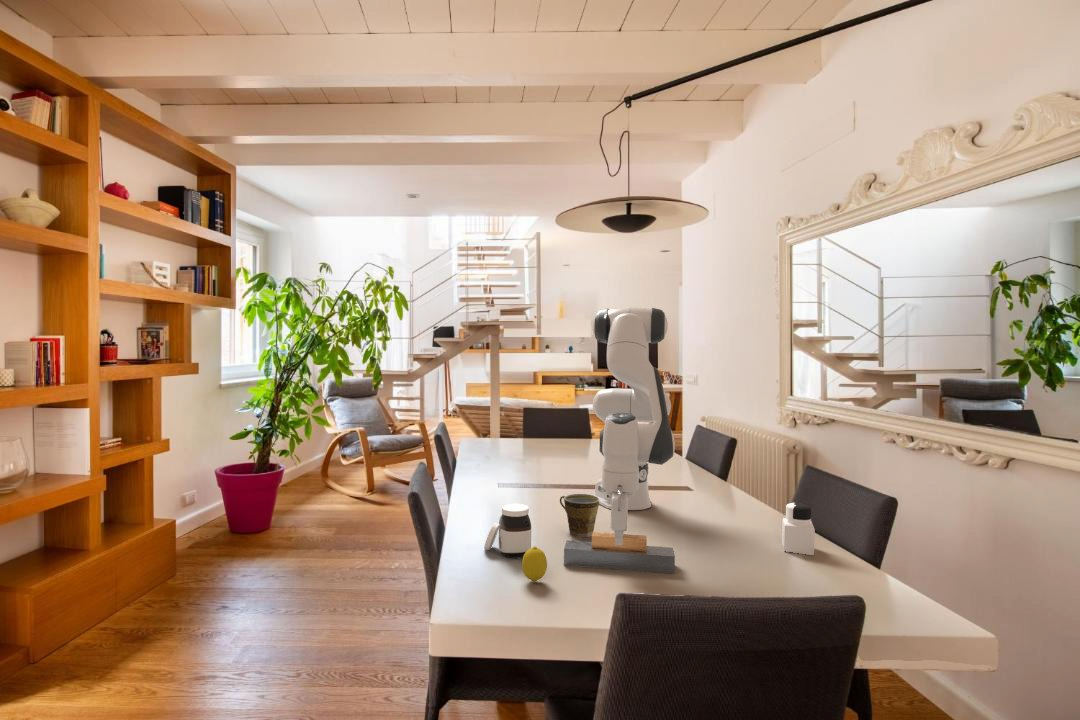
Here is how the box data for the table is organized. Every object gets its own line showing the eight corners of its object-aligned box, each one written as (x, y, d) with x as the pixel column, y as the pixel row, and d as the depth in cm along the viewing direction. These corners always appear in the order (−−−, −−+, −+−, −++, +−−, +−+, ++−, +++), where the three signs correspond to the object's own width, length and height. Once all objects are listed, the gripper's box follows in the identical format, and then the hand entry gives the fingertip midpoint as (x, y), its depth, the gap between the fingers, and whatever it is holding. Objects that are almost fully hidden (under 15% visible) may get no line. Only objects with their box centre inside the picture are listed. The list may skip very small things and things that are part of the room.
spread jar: (534, 558, 140) (535, 512, 139) (489, 563, 136) (490, 515, 136) (522, 542, 151) (522, 499, 151) (480, 546, 148) (481, 501, 148)
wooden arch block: (591, 564, 136) (591, 535, 136) (592, 560, 139) (592, 532, 139) (646, 568, 134) (646, 539, 134) (645, 564, 137) (646, 535, 137)
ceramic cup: (605, 533, 159) (606, 498, 159) (583, 542, 152) (584, 505, 152) (570, 523, 168) (571, 490, 168) (548, 530, 161) (548, 496, 161)
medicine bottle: (810, 546, 151) (811, 502, 151) (814, 556, 145) (815, 509, 144) (781, 543, 154) (783, 499, 154) (784, 552, 147) (785, 506, 147)
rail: (563, 565, 136) (564, 548, 136) (566, 556, 142) (566, 540, 142) (674, 573, 132) (674, 556, 132) (672, 563, 138) (672, 547, 138)
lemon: (521, 577, 128) (521, 542, 128) (545, 577, 129) (546, 542, 128) (522, 587, 123) (523, 551, 122) (547, 587, 123) (548, 550, 123)
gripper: (633, 492, 126) (632, 554, 126) (632, 472, 146) (631, 525, 146) (605, 491, 127) (604, 552, 127) (608, 471, 147) (607, 523, 147)
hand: (619, 537), depth 137 cm, fingers open, 8 cm apart
